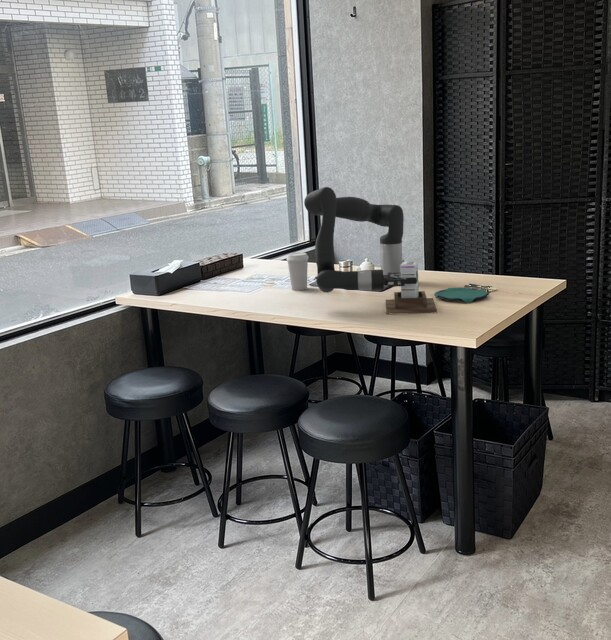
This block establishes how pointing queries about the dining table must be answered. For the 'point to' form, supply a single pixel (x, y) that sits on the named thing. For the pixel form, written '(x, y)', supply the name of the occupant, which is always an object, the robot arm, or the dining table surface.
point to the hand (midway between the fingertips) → (416, 278)
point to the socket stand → (410, 304)
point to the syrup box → (409, 272)
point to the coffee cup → (298, 270)
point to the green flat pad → (462, 293)
